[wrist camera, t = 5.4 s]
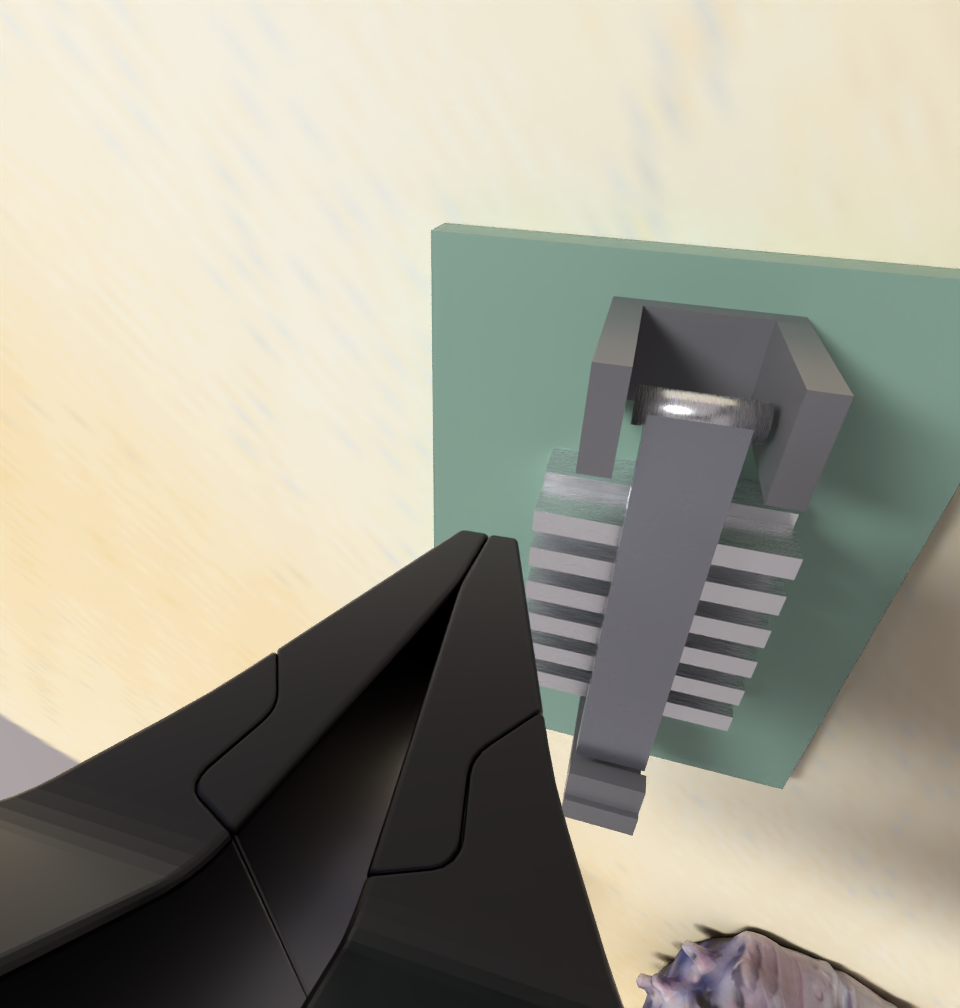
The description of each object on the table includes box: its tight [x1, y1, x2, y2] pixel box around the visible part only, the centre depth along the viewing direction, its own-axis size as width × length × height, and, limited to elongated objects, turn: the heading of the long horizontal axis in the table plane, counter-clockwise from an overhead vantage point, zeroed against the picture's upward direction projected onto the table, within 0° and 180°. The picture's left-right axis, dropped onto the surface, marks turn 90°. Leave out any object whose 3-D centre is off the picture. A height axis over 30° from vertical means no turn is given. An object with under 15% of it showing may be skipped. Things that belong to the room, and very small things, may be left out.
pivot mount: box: [575, 296, 854, 512], centre depth 14 cm, size 5×3×5 cm, turn 89°
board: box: [431, 223, 960, 789], centre depth 21 cm, size 15×20×1 cm
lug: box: [562, 696, 646, 835], centre depth 22 cm, size 2×2×5 cm
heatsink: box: [525, 448, 803, 731], centre depth 19 cm, size 7×8×3 cm
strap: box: [576, 384, 774, 771], centre depth 16 cm, size 12×3×1 cm, turn 179°
